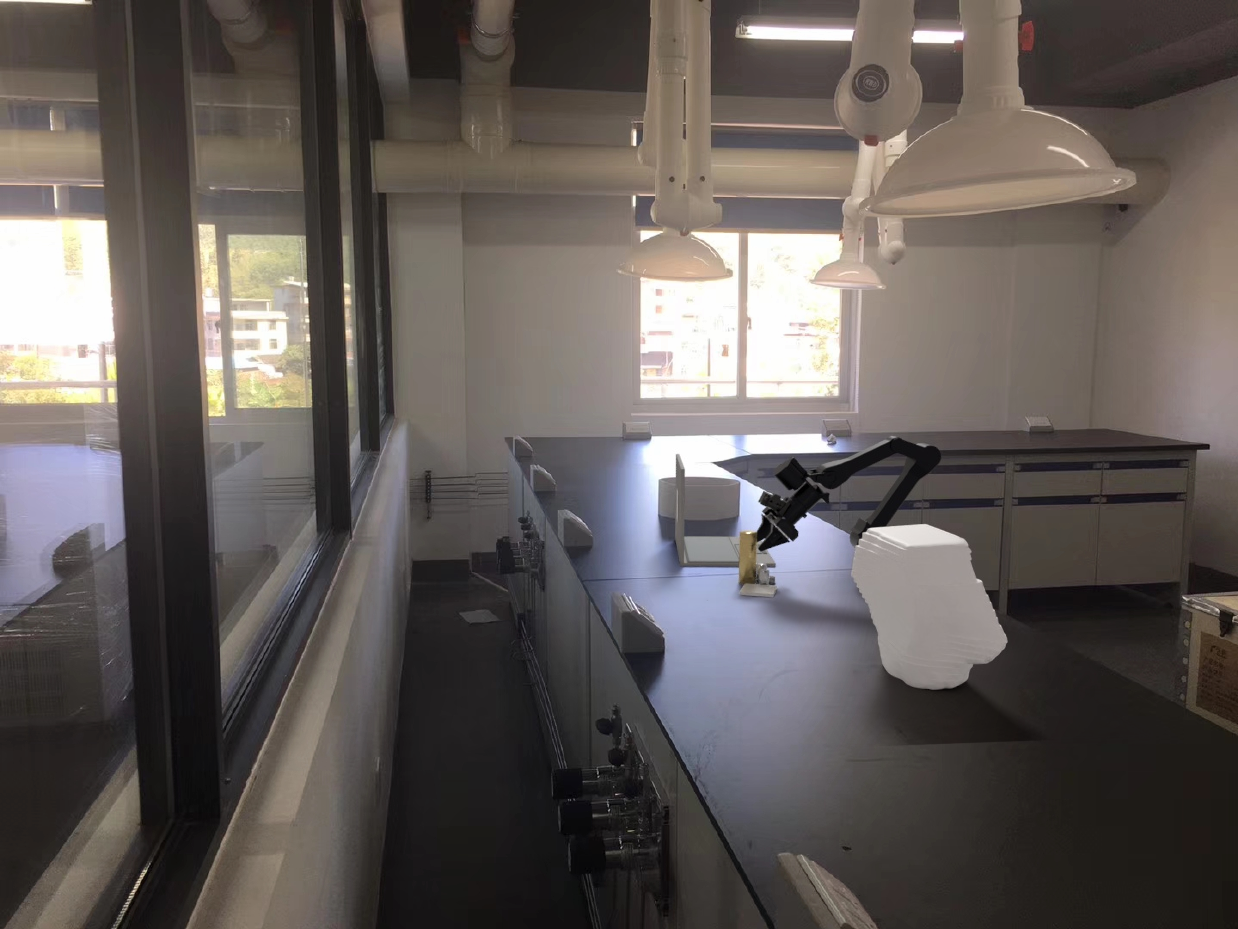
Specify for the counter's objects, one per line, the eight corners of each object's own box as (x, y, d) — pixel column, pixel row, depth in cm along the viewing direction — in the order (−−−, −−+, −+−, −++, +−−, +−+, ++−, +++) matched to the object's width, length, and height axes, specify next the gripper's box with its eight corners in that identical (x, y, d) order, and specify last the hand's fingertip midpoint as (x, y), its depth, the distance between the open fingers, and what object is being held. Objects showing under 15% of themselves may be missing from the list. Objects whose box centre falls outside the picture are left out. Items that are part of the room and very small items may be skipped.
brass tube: (757, 581, 237) (758, 531, 235) (754, 585, 233) (755, 534, 231) (740, 580, 238) (741, 530, 236) (737, 584, 234) (738, 533, 232)
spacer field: (777, 578, 239) (777, 563, 239) (772, 588, 230) (772, 572, 229) (746, 576, 242) (746, 561, 241) (739, 585, 232) (740, 570, 232)
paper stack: (941, 650, 184) (947, 522, 180) (1008, 702, 157) (1017, 554, 154) (837, 653, 182) (841, 524, 179) (887, 706, 155) (893, 556, 152)
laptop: (775, 568, 252) (777, 469, 249) (679, 567, 253) (680, 469, 249) (759, 541, 287) (760, 454, 283) (674, 540, 287) (675, 453, 284)
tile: (777, 588, 229) (777, 585, 229) (773, 597, 222) (773, 594, 222) (744, 586, 232) (745, 583, 232) (739, 594, 224) (739, 591, 224)
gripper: (771, 475, 242) (728, 517, 243) (786, 486, 223) (740, 531, 224) (799, 505, 243) (757, 546, 244) (818, 518, 224) (771, 563, 225)
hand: (755, 546), depth 234 cm, fingers open, 9 cm apart
